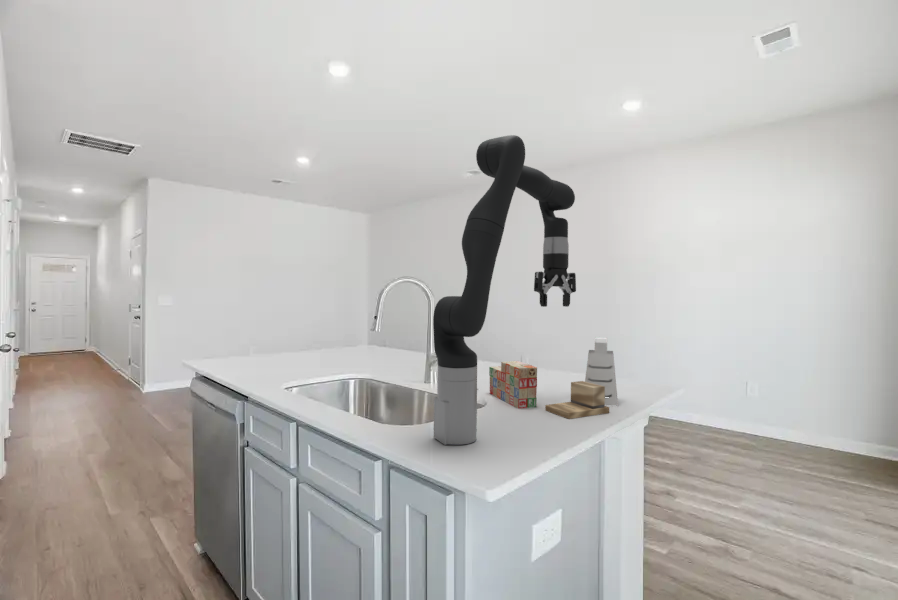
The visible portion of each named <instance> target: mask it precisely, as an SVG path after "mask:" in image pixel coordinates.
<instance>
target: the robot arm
mask: <svg viewBox="0 0 898 600" xmlns="http://www.w3.org/2000/svg"><path fill="white" fill-rule="evenodd" d="M525 145H526V144H525V143H524V141H523V139H522V138H521V137H520V136H519V135H516V134H515V135H514V134H513V135H512V134H510V135H504V136H503V135H502V136H499V137H498V136H497V137H494V138H488V139H486V140H484V141H482V142H481V143H480V144H479V145H478V147H477V149H476V153H475V154H476V155H475V157H476V162H477V163H476V164H477V166H478V168H479V170H480V171H481V173H482V174H484V175H485V176H488V177H490V178H493V181H492V184H490V187H489V188H488V189H487V190H486V192H485V193H484V194H483V195H482V196H481V198H480V199H479V200H478V201H477V203H476V204H475V205H474V206H473V208H472V209H471V210H470V212H469V213H468V214H469V215H468V216H467V218H466V223H465V226H464V229H463V233H462V237H461V249H462V254H463V257H464V262H465V266H466V279H465V283H464V287H463V291H462V294H461V295H458V296H457V295H451V296H450V295H449V296H444V297H442V298H440V299H439V300H438V301H437V303H436V305H435V307H434V310H433V316H432V317H433V318H432V319H433V320H432V325H433V326H432V327H433V329H432V330H433V348H434V352H435V353H434V354H435V356H436V359H437V384H436V385H437V389H436V390H437V394H436V396H435V397H434V398H433V438H434V439H436V440H437V441H438V442H440V443H442V444H443V445H444V446H448V445H456V446H457V445H468V444H472V443H474V442H476V440H477V431H478V429H477V424H478V423H477V422H478V418H477V416H478V412H477V411H478V409H477V408H478V354H477V353H476V352H475V351H474V350H472V349H471V348H470V347H469V346H468V345H467V343H466V342H465V338H472V337H475V336H477V335H478V334H480V332H481V331H482V328H483V326H484V324H485V322H486V316H487V311H488V306H489V298H490V297H489V296H490V291H491V285H492V279H493V275H494V269H495V265H496V262H497V258H498V257H497V256H498V254H499V249H500V246H501V243H502V239H503V234H504V231H505V227H506V221H507V217H508V213H509V209H510V207H511V203H512V199H513V196H514V193H515V190H516V188H517V189H519V190H521V191H523V192H525V193H526V194H528V196H530V197H532V199H533V198H534V199H535V201H538V206H539V208H540V211H541V213H540V214H541V217H542V219H543V226H544V229H543V230H544V231H543V232H544V233H543V235H544V236H543V246H542V247H543V248H542V249H543V250H542V267H543V269H544V270H543V271H535V272H534V281H533V282H534V283H533V291H534V292H535V293H536V292H537V293H538V294H539V305H540V307H542V308H543V307H548V294H547V293H548V292H549V290H550V289H551V288H553V287H558V288H559V289H560V290H561V291H562V293H563V294H562V307H567V308H568V307H570V305H571V294H573V293H576V291H577V282H576V281H577V280H576V279H577V277H576V273H575V272H568V268H569V251H570V250H569V247H570V246H569V222H568V220H567V219H566V218H563V217H559V216H558V217H556V215H555V211H563V210H565V211H566V210H569V209H570V208H571V207H573V205H574V203H575V201H576V196H575V195H576V194H575V192H574V190H573V188H572V187H570V185H568V184H566V183H564V182H560V181H558V180H555V179H552V178H551V177H550V176H548V175H547V174H546V173H544V172H543V171H541V170H539V169H537V168H534V167H531V166H527V165H525V162H526V161H525V159H526V147H525ZM543 279H544V280H543Z"/></svg>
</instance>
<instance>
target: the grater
mask: <svg viewBox="0 0 898 600" xmlns="http://www.w3.org/2000/svg"><path fill="white" fill-rule="evenodd" d="M587 352H588V354H587V362H586V370H585V379H584V381H585V382H589V383H593V384H597V385H601V386H605V397H609V398H605V406H607V405H616V406H615V407H619V401H618V400H619V399H618V389H617V378H616V368H615V359H614V358H615V357H614V351H613V350H608V337H600V336H599V337H596V336H595V337H594V349H589V350H588V351H587Z"/></svg>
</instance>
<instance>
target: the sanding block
mask: <svg viewBox="0 0 898 600" xmlns="http://www.w3.org/2000/svg"><path fill="white" fill-rule="evenodd" d="M570 402H572V403H575V404H578V405H581V406H585V407H588V408H591V409H597V408H604V406H606V405H605V386H601V385H597V384H593V383H589V382H585V380H579V381H571V382H570Z"/></svg>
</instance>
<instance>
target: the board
mask: <svg viewBox="0 0 898 600" xmlns="http://www.w3.org/2000/svg"><path fill="white" fill-rule="evenodd" d="M544 407H545V408H544V411H545V412H549V413H551V414H553V415H555V416H556V415H557V416H559V417H563V418H565V419H568V420H570V419H571V420H573V419H578V418H585V417H590V416H591V415H592V416H598V414H599V415H605V414H609V413H610V406H607V405H605V406H604V408H597V409H591V408H588V407H585V406H581V405H578V404H575V403H572V402H571V401H567V402H566V401H564V402H558V403H551V404H545V405H544ZM592 416H591V417H592Z"/></svg>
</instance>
